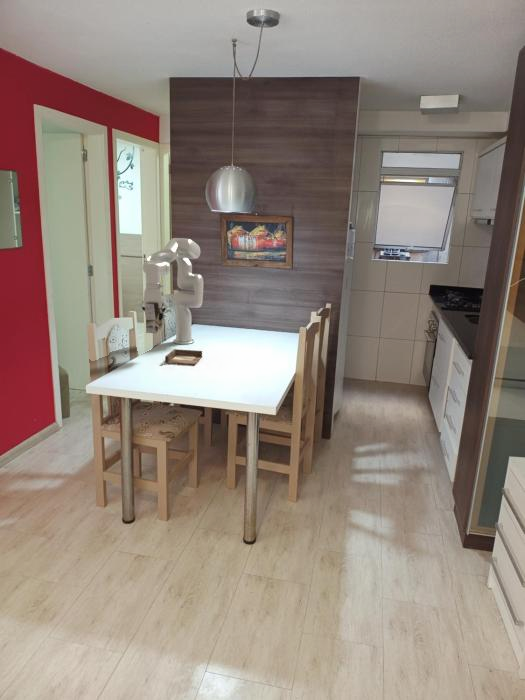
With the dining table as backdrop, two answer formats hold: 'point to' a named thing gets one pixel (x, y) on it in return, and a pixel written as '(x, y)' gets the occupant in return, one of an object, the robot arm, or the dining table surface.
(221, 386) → the dining table surface
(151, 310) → the coffee box
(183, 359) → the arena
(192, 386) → the dining table surface
